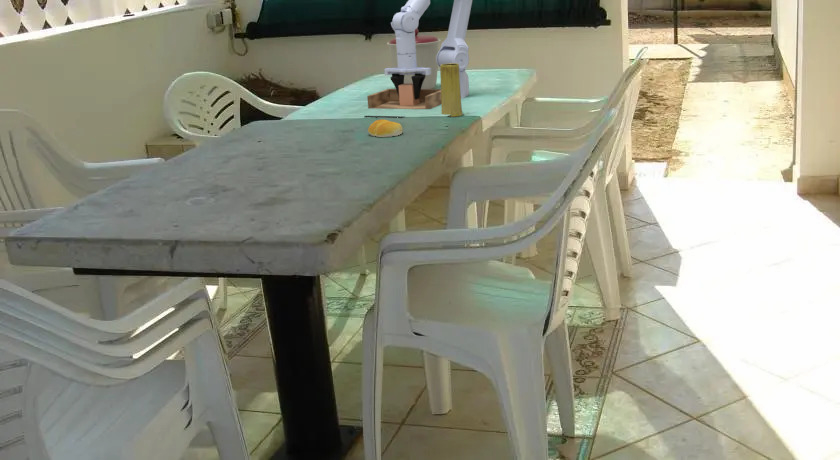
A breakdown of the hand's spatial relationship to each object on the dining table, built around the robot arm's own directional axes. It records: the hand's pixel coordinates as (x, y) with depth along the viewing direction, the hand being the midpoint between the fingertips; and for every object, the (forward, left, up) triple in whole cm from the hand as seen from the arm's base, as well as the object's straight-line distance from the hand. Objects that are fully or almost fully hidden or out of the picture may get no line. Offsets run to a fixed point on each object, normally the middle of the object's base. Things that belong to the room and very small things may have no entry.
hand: (409, 98), depth 268 cm
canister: (-32, -12, -3) cm, 34 cm away
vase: (+13, +19, -3) cm, 23 cm away
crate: (+1, 0, -2) cm, 3 cm away
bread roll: (+41, +12, -3) cm, 43 cm away
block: (0, 0, -2) cm, 2 cm away
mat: (+14, 0, -2) cm, 14 cm away
